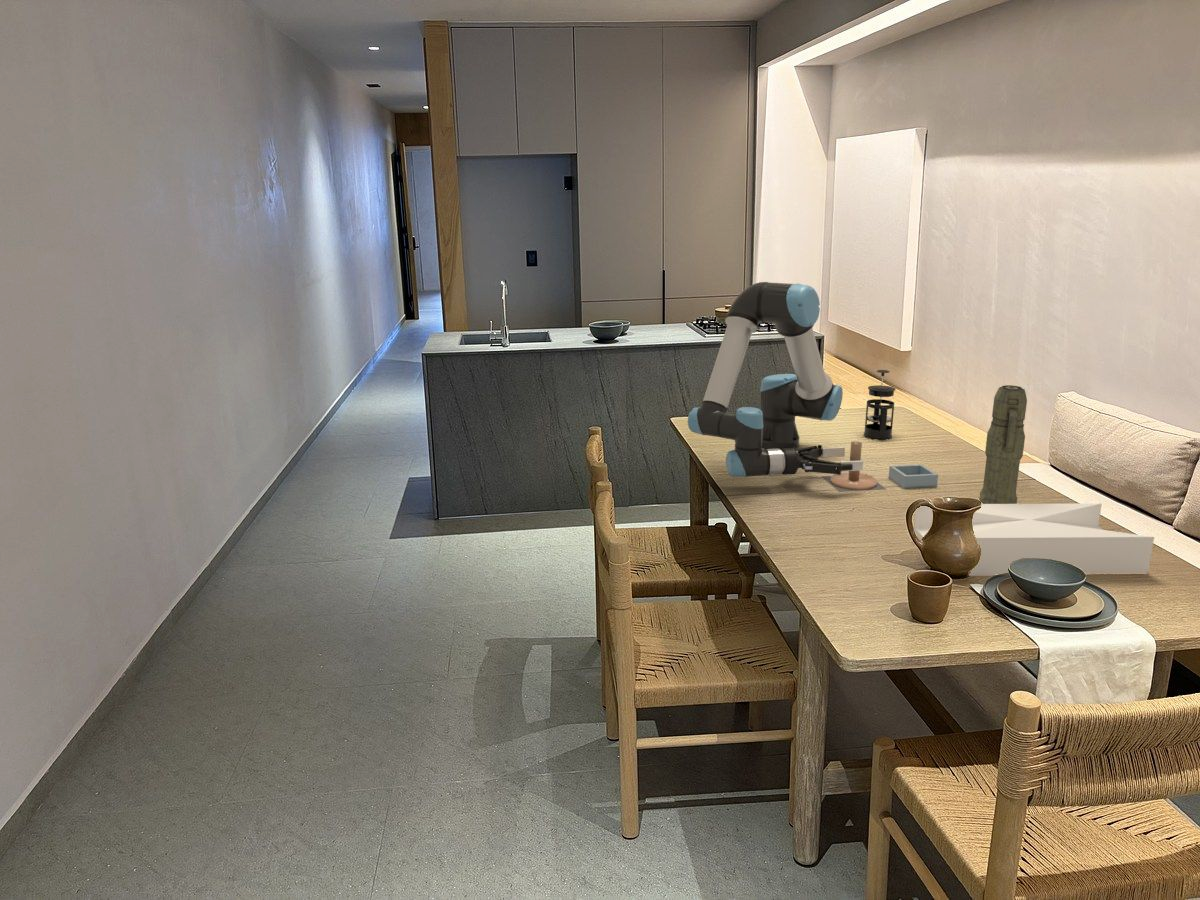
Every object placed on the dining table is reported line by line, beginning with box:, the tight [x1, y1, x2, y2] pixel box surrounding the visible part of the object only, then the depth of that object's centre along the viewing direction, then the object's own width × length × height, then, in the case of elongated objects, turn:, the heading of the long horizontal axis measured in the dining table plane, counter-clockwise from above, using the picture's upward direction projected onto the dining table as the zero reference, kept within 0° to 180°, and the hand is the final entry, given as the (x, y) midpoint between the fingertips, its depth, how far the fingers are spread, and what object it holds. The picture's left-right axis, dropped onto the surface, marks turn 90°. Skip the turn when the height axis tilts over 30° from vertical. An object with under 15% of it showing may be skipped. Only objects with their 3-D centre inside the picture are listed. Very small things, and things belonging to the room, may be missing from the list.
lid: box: [830, 440, 878, 491], centre depth 265 cm, size 13×13×12 cm
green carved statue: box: [978, 384, 1028, 504], centre depth 234 cm, size 9×12×35 cm
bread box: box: [913, 502, 1155, 577], centre depth 215 cm, size 45×22×10 cm, turn 90°
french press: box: [863, 369, 896, 441], centre depth 312 cm, size 12×9×23 cm
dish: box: [888, 464, 939, 490], centre depth 267 cm, size 10×10×4 cm
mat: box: [821, 473, 887, 493], centre depth 267 cm, size 14×14×1 cm
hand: (853, 458), depth 264 cm, fingers open, 13 cm apart
